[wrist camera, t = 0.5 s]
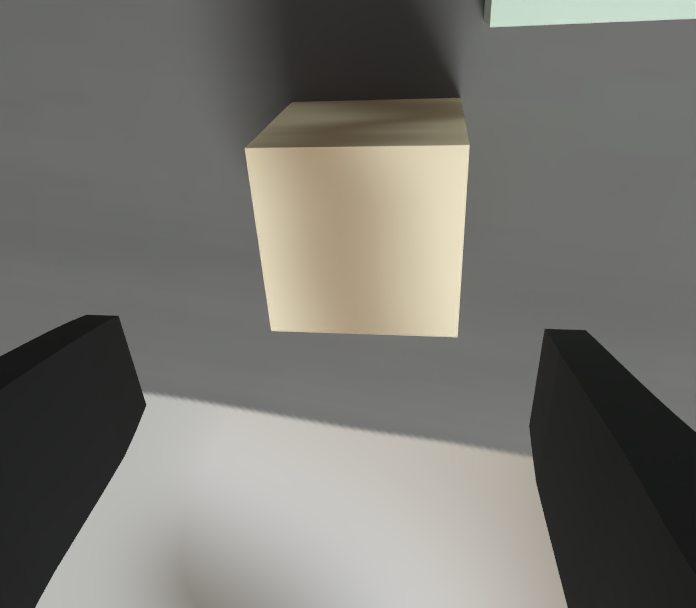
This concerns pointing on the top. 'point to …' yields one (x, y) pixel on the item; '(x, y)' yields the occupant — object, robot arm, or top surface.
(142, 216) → the top surface
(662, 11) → the pale green slab
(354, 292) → the maple cube
